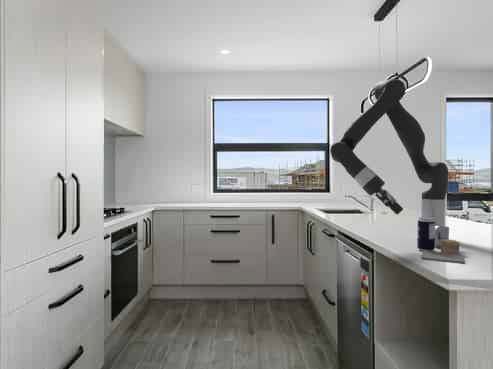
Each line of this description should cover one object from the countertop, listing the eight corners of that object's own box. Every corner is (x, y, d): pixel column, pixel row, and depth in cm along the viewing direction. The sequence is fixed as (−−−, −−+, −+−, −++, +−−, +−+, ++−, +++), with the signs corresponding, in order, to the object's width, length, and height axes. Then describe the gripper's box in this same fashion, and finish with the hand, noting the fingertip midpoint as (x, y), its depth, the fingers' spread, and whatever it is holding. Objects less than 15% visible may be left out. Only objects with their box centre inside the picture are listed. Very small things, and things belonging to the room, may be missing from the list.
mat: (422, 252, 126) (422, 250, 126) (461, 256, 121) (461, 254, 121) (421, 259, 116) (421, 257, 116) (464, 263, 110) (464, 261, 110)
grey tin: (433, 245, 138) (434, 225, 138) (448, 247, 136) (448, 226, 136) (433, 248, 134) (434, 227, 134) (448, 249, 132) (449, 228, 132)
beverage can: (429, 248, 132) (429, 216, 132) (437, 252, 127) (438, 218, 126) (414, 248, 132) (414, 216, 132) (422, 252, 127) (423, 218, 126)
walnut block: (440, 251, 128) (440, 239, 128) (454, 252, 127) (454, 240, 127) (444, 254, 123) (444, 241, 123) (458, 255, 122) (459, 242, 122)
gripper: (373, 174, 131) (406, 206, 126) (379, 174, 143) (409, 204, 138) (358, 188, 133) (390, 220, 128) (365, 187, 146) (394, 216, 141)
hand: (400, 211), depth 133 cm, fingers open, 8 cm apart
